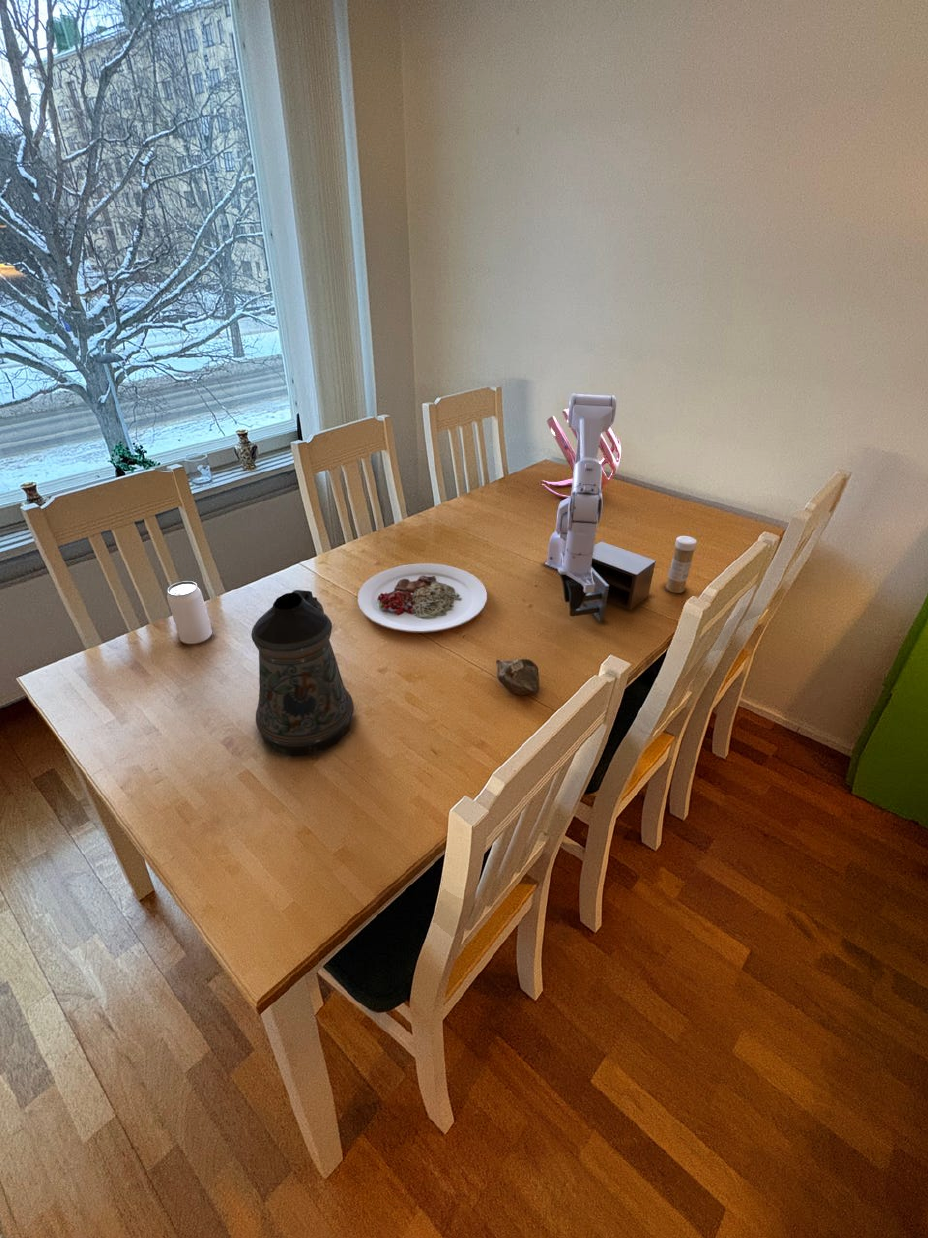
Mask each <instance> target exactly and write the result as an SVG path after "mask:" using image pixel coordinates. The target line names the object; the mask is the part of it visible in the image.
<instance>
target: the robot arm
mask: <svg viewBox="0 0 928 1238" xmlns="http://www.w3.org/2000/svg"><path fill="white" fill-rule="evenodd" d="M568 409H569V411H568V422H567V425H568V428H570V429H571V428H573V429H575V430H576V432H577V435H578V439H576V441H577V442H576V450H575V454H576V457H575V465H574V472H573V471H572V472H573V474H572V478H573V482H572V485H571V490H570V491H571V493H570V495H569V496H570V497H568V498H566V499H565V498H564V499H563V500H561V501H560V502H559V504H558V509H557V512H556V522H555V530H554V531H553V532H552V534H551V536H550V538H549V541H548V549H547V559H546V562H545V566H548V567H550V568H553V569H554V570H557V571H558V573H557V574H558V575H559V578H560V580H561V584H562V589H563V597H564V598H563V599H564V601H565V603H568V604H569V605H568V606H569V610H570V609H579V608H580V607H582V606H581V605H582V604H583V603H584V602H583V599H584V597H585V596H586V594H587V593H591V592H594V588H595V583H594V582H593V577H592V569H591V564H592V557H593V550H594V545H595V542H596V536H597V528H598V524H600V522H601V519H602V514H603V508H604V507H603V506H604V499H603V489H601V479H602V465H601V464H600V463H599V462H598V461H597V459H598V455H599V450H600V448H599V444H600V438H601V433H605V431H607V430H609V428H611V427H612V426H613V425H614V422H615V418H616V410H617V397H616V396H615V395H614V394H613V395H602V394H600V395H598V394H579V393H577V394H576V393H574V392H573V393H571V395H570V396H569V403H568Z"/></svg>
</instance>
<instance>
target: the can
mask: <svg viewBox="0 0 928 1238" xmlns="http://www.w3.org/2000/svg"><path fill="white" fill-rule="evenodd" d="M166 591H167V597H166V598H167V602H168V606H169V608H170V612H171V616H172V619H173V622H174V626H175V628H176V631H177V635H178V637H179V640H180V642H182V643H184V644H186V645H199V644H201V643H203V642H205V641H207V640H209V639H210V637H211V636H212V633H213V629H212V626H211V622H210V619H209V615H208V611H207V608H206V604H205V599H204V597H203V593H202V590H201V589H200V588H199V587H198V584H197V583H196V582H194V581H191V580H185V581H179V582H176V583H173V584H172V585H170V586H169V587H167V590H166Z"/></svg>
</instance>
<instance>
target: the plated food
mask: <svg viewBox="0 0 928 1238" xmlns="http://www.w3.org/2000/svg"><path fill="white" fill-rule="evenodd" d="M487 595H488V593H487V590H486V587H485V585H484V584H483V582H482V581H481V580H480V579H479V578H477V576H475V575H473V574H472V573H470V572H469V571H466V570H465V569H461V568H459V567H456V566H451V565H446V564H441V563H429V562H428V563H425V562H422V563H409V564H403V565H398V566H394V567H390V568H388V569H385V570H382V571H380V572H378V573H376V574H375V575H373V576H371V577H369V579H367V580H366V581H365V582H364V583H363V584H362V586H361V587H360V588H359V591H358V592H357V604H358V607H359V609H360V611H361V612H362V613H363V615H364V617H366V618H367V619H369V620H370V621H372V622H373V623H374V624H377V625H378V626H381V627H384V628H387V629H390V630H394V631H399V632H405V633H406V632H407V633H435V632H441V631H445V630H446V631H447V630H451V629H453V628H456V627H459V626H460V627H461V626H462V625H464V624H466V623H468V622H470V621H472V620H473V619H474V618H475V617H477V616H478V615H479V614H480V613H481V612H482V611H483V610H484V608H485V606H486V604H487V600H488V596H487Z"/></svg>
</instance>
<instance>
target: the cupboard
mask: <svg viewBox="0 0 928 1238" xmlns="http://www.w3.org/2000/svg"><path fill="white" fill-rule="evenodd" d="M656 563H657V562H656V560H654V559H651V558H649V557H647V556H643V555H640V554H638V553H635V552H633V551H629V550H628V549H627V550H626V549H624V548H621V547H618V546H615V545H613V544H609V543H608V542H604V541H599V542H598V543H596V544H594V550H593V557H592V564H591V567H592V568H593V569H594V570H595V571H596V572H597V573H598V574H599V575H600V576H601V578H602V579H603V580H604V581H605V582H606V583H607V584H608V585H609V590H608V596H607V602H606V603H610V604H612V605H614V606H616V607H619V608H622V609H624V610H627V611H631V610H633V609H634V608H635V607H636V606H638V605H639V604H640V603H641V602H643V601H644V600H645V599H646V598H648V597H649V595H650V590H651V585H652V581H653V580H652V579H653V575H654V571H655V566H656Z"/></svg>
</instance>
